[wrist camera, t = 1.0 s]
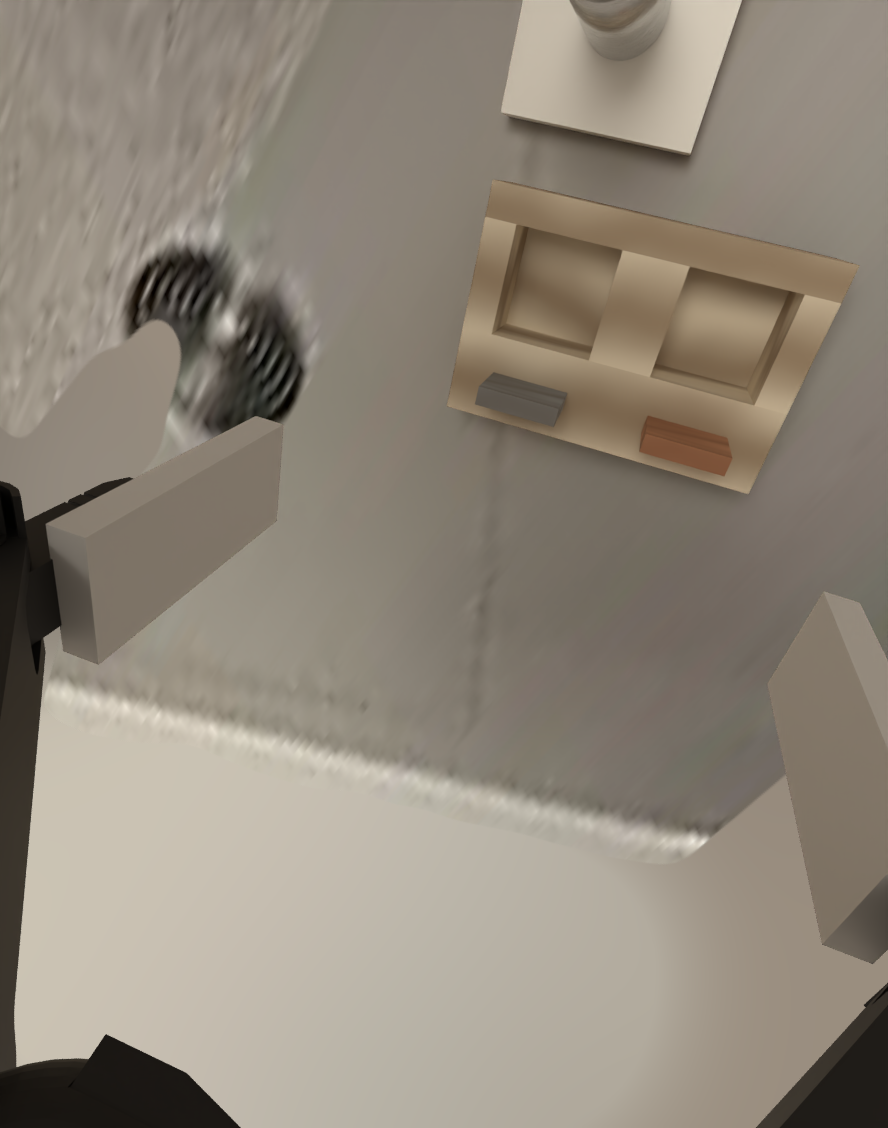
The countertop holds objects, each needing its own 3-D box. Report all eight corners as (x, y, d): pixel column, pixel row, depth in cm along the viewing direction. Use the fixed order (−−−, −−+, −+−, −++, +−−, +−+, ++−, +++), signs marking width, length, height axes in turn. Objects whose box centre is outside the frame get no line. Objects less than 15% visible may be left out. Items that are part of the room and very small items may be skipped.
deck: (560, -136, 31) (554, -156, 29) (775, -102, 29) (782, -121, 28) (508, 116, 36) (500, 112, 34) (689, 156, 35) (690, 153, 33)
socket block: (512, 182, 38) (476, 177, 30) (836, 258, 35) (880, 272, 28) (467, 386, 44) (429, 422, 37) (739, 464, 41) (755, 519, 34)
